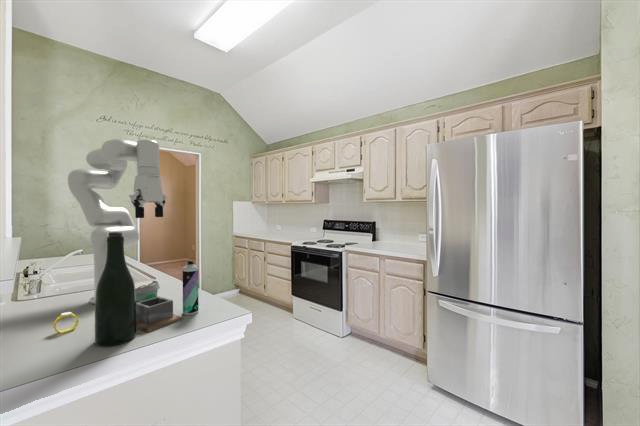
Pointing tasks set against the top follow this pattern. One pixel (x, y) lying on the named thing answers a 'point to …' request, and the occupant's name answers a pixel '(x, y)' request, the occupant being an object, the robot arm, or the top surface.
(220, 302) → the top surface
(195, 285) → the spray can
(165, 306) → the can holder
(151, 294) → the food container
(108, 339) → the beer bottle
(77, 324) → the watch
